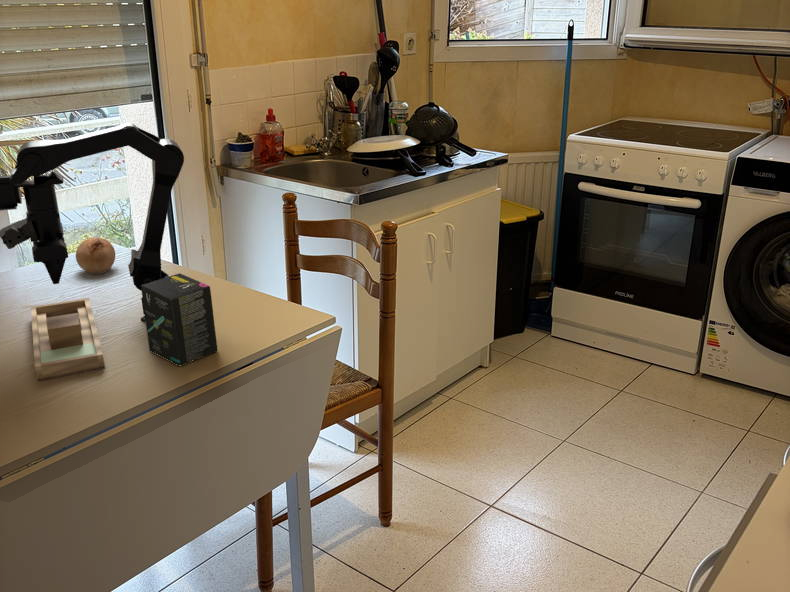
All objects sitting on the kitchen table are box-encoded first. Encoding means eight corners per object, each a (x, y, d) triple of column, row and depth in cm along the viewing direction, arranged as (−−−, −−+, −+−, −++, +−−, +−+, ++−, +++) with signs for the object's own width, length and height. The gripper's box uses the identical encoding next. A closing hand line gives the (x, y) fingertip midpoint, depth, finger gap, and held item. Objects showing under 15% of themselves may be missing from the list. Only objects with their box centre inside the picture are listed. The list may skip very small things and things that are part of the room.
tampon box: (218, 352, 157) (212, 285, 151) (179, 368, 151) (171, 299, 145) (187, 335, 164) (179, 271, 158) (148, 350, 158) (139, 284, 152)
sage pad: (98, 364, 151) (97, 359, 151) (43, 375, 147) (41, 369, 147) (94, 347, 158) (93, 342, 157) (41, 357, 154) (40, 352, 154)
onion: (107, 286, 197) (108, 258, 190) (70, 276, 196) (68, 248, 189) (120, 261, 204) (121, 233, 197) (84, 252, 202) (83, 223, 195)
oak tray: (105, 368, 151) (102, 354, 150) (37, 380, 146) (35, 366, 145) (90, 310, 176) (88, 297, 175) (33, 319, 171) (30, 306, 170)
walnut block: (83, 344, 157) (79, 324, 155) (51, 350, 154) (47, 329, 152) (81, 332, 162) (77, 312, 160) (49, 337, 159) (46, 317, 158)
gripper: (-3, 199, 159) (12, 270, 166) (-4, 224, 144) (13, 302, 150) (56, 193, 164) (68, 262, 170) (61, 217, 148) (74, 293, 154)
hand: (55, 279), depth 161 cm, fingers open, 5 cm apart
